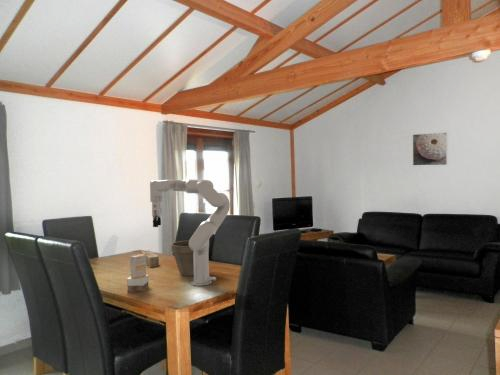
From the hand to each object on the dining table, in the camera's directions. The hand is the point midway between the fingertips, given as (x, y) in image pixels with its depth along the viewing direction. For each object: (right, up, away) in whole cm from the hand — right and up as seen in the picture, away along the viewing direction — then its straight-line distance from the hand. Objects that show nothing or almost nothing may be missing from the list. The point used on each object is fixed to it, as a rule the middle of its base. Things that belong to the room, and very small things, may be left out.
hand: (157, 226), depth 255 cm
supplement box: (-8, -30, -14) cm, 34 cm away
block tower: (-20, -36, +61) cm, 74 cm away
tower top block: (-8, -33, -14) cm, 37 cm away
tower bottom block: (-8, -37, -14) cm, 41 cm away
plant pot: (+18, -36, +24) cm, 46 cm away
